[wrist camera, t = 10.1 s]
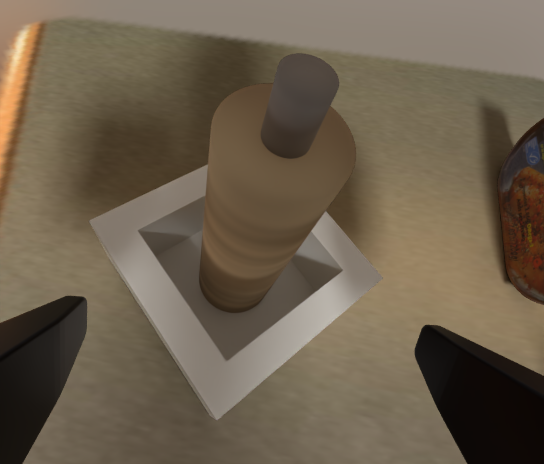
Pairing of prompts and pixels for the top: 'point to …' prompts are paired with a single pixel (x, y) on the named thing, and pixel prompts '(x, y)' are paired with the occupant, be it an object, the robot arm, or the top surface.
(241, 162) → the tall beige lotion bottle
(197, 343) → the tool holder
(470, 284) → the top surface
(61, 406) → the top surface
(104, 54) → the top surface
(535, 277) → the tin
